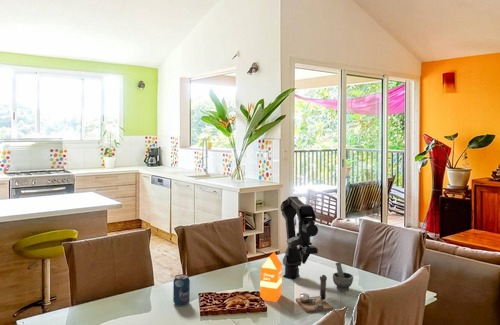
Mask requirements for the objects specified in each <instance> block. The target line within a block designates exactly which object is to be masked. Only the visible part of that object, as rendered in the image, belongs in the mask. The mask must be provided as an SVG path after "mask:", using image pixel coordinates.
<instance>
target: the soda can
mask: <svg viewBox="0 0 500 325" xmlns="http://www.w3.org/2000/svg"><path fill="white" fill-rule="evenodd" d="M190 281H191V280H190V278H189V275H187V274H184V273H183V274H177V275H175V277H174V278H173V290H172V291H173V292H172V293H173V303H174V305H175V306H177V307H185V306H188V304H189V303H190V292H191V291H190V288H191V287H190V286H191V284H190V283H191V282H190Z"/></svg>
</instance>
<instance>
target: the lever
mask: <svg viewBox="0 0 500 325" xmlns="http://www.w3.org/2000/svg"><path fill="white" fill-rule="evenodd" d="M327 280H328V278H327V275H325V274H321V275H320V276H319V281H320V285H319V296H320V298H309V297H310V294H308V293H299V298H300V302H303V303H307V302H313V300H315V301H316V300H317V299H321V300H322V302H323V300H325V301H326V298H327V297H326V295H327V294H326V291H327Z"/></svg>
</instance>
